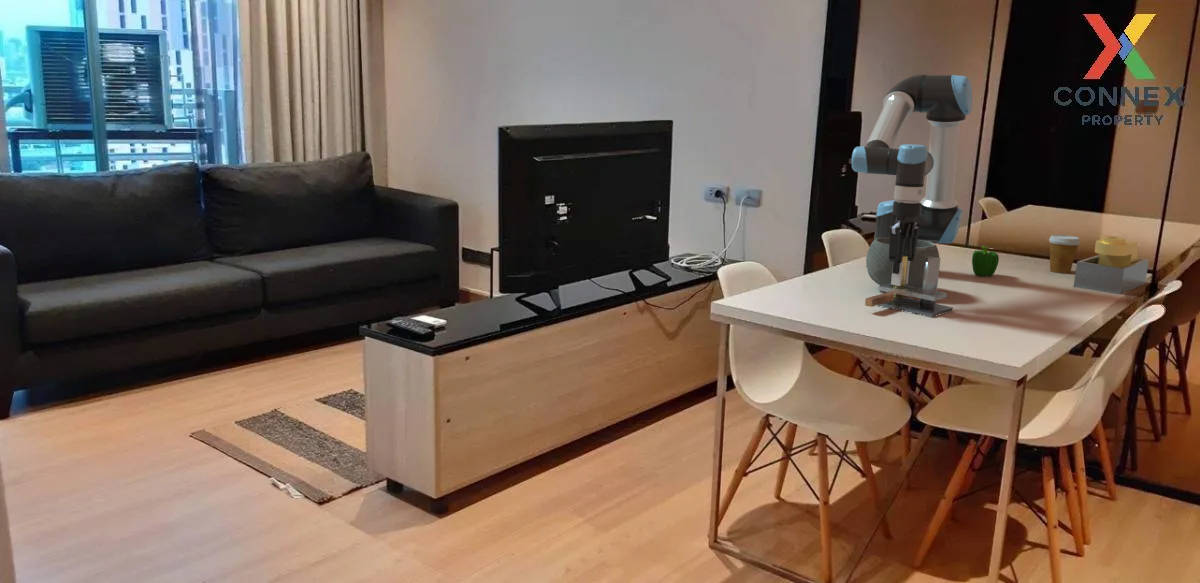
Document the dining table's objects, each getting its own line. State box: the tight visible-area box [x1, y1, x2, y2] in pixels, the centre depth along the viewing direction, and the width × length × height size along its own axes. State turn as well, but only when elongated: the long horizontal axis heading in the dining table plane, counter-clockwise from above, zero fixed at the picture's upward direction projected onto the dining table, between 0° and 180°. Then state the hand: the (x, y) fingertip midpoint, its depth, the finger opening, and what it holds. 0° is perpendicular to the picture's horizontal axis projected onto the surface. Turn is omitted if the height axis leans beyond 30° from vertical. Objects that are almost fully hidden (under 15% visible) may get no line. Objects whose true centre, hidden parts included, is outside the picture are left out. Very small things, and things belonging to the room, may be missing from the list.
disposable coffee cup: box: [1048, 234, 1081, 274], centre depth 316 cm, size 10×10×12 cm
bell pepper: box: [971, 245, 1000, 277], centre depth 307 cm, size 8×8×10 cm
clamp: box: [1094, 235, 1139, 268], centre depth 297 cm, size 20×9×16 cm, turn 134°
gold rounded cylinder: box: [893, 255, 908, 299], centre depth 262 cm, size 3×3×12 cm
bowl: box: [865, 237, 940, 288], centre depth 280 cm, size 21×21×15 cm
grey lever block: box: [864, 256, 954, 318], centre depth 255 cm, size 18×22×15 cm
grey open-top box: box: [1073, 254, 1150, 295], centre depth 297 cm, size 14×24×8 cm, turn 134°
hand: (899, 283), depth 262 cm, fingers closed on gold rounded cylinder, 3 cm apart
